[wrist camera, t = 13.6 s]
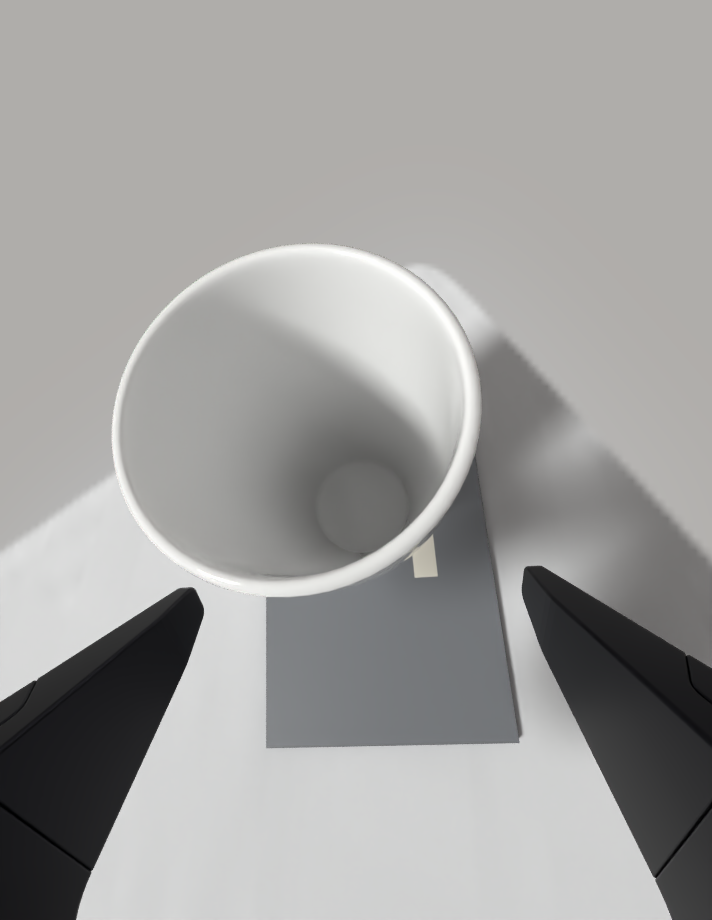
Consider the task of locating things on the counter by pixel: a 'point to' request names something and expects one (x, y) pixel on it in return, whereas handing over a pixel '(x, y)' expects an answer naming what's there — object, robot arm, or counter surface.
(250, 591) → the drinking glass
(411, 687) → the board
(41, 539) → the counter surface
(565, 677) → the robot arm
